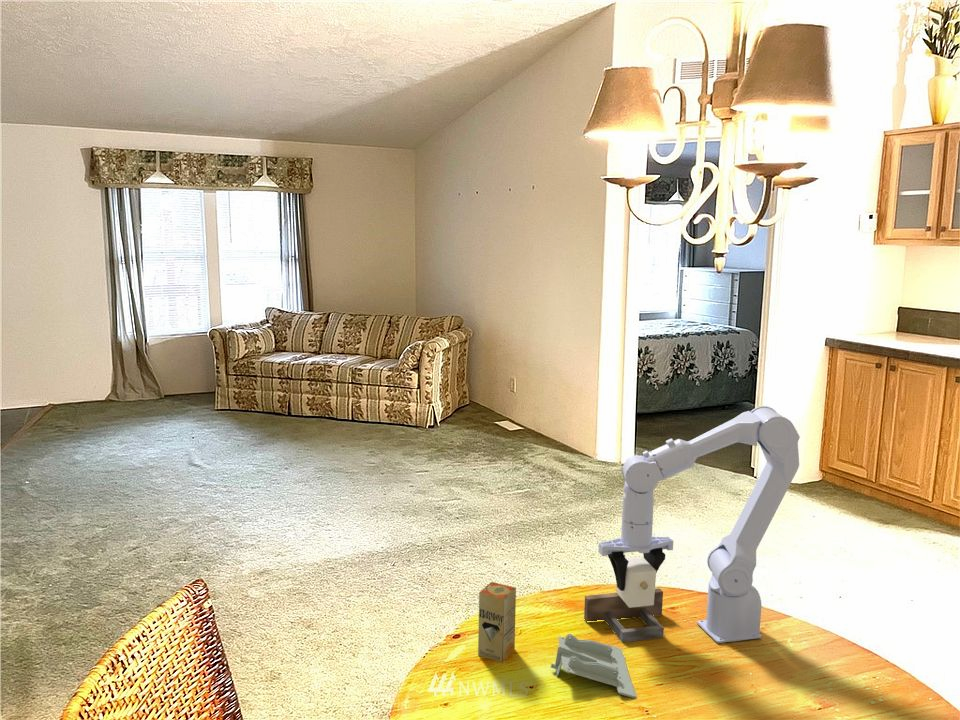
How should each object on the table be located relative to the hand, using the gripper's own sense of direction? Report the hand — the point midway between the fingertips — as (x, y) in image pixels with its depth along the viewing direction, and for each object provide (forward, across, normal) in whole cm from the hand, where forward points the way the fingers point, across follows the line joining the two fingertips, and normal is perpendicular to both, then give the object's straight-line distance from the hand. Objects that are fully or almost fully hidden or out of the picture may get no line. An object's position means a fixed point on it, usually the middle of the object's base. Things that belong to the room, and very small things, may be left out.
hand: (634, 587), depth 148 cm
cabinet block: (+2, 0, 0) cm, 2 cm away
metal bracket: (+9, -13, -13) cm, 21 cm away
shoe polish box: (+9, -28, -3) cm, 29 cm away
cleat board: (+8, 0, 0) cm, 8 cm away
